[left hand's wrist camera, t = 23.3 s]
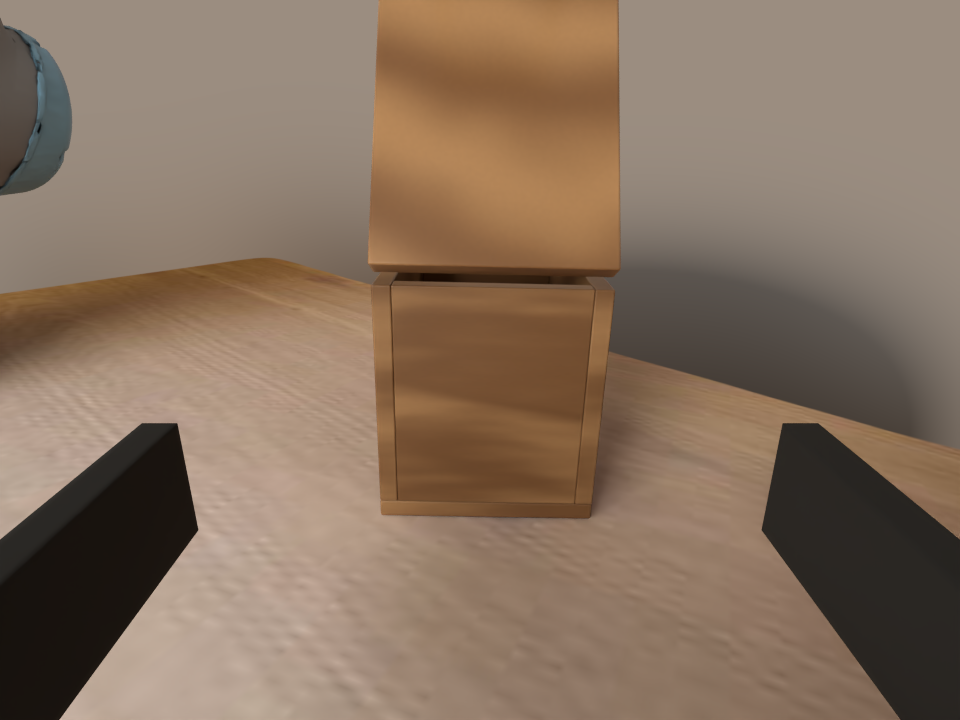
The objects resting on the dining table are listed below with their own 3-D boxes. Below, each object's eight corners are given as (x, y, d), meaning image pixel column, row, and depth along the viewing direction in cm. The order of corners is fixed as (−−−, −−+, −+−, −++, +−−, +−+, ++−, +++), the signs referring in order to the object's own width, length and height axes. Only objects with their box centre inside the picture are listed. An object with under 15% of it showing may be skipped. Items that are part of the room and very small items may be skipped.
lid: (387, -83, 24) (342, -351, 16) (611, -76, 24) (684, -339, 16) (372, 272, 23) (314, 181, 14) (613, 277, 23) (697, 190, 14)
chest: (413, 384, 39) (410, 227, 36) (551, 387, 40) (563, 230, 36) (380, 515, 26) (370, 284, 22) (590, 519, 26) (615, 290, 22)
